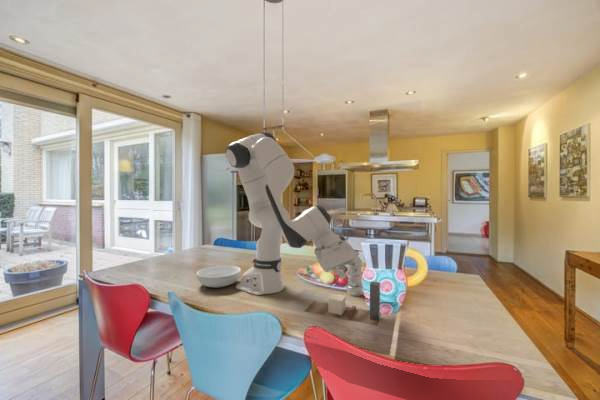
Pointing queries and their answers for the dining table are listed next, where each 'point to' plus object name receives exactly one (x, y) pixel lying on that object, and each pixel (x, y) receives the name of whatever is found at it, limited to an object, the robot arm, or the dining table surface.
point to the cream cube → (336, 304)
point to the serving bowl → (218, 276)
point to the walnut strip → (354, 308)
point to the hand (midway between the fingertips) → (351, 274)
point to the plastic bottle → (354, 278)
